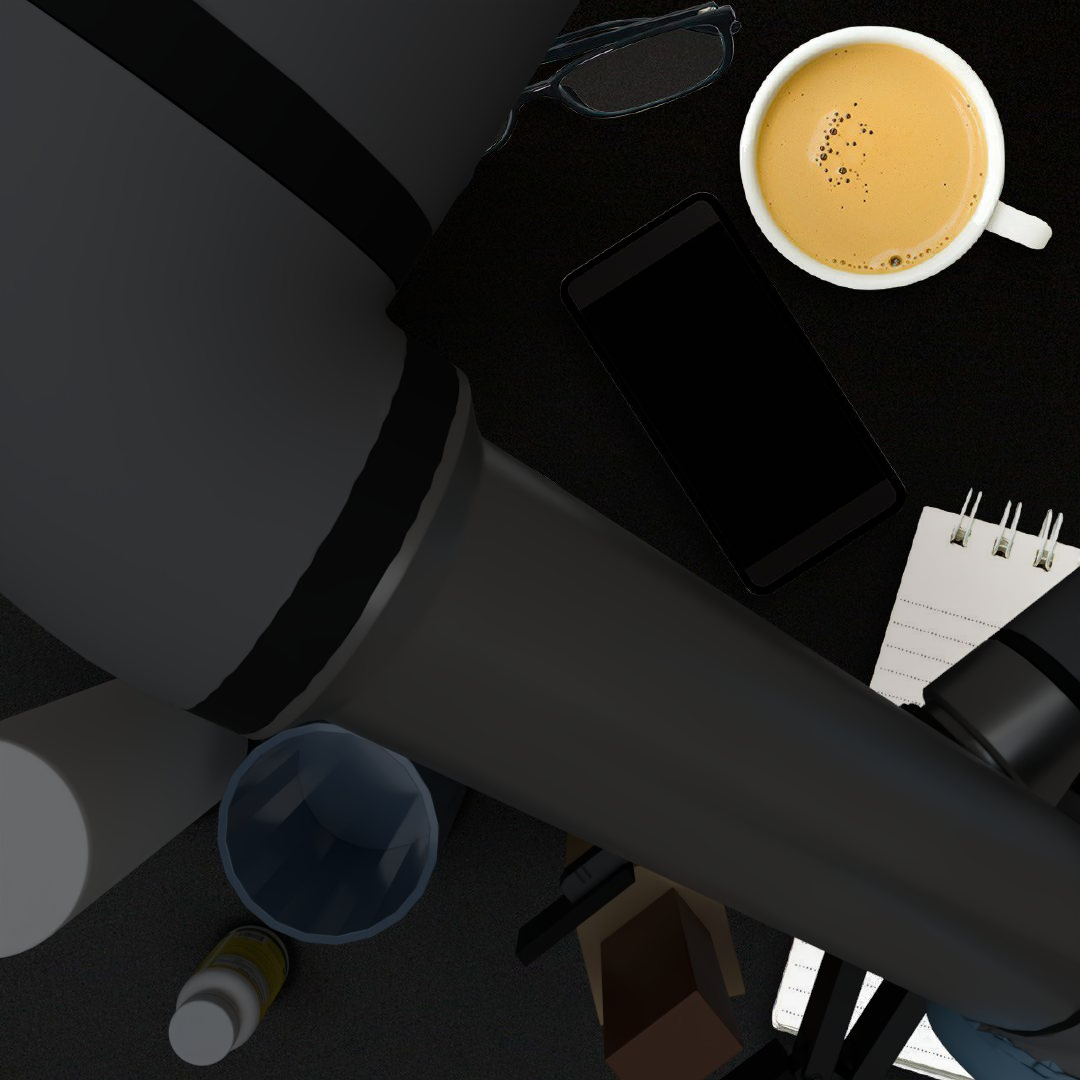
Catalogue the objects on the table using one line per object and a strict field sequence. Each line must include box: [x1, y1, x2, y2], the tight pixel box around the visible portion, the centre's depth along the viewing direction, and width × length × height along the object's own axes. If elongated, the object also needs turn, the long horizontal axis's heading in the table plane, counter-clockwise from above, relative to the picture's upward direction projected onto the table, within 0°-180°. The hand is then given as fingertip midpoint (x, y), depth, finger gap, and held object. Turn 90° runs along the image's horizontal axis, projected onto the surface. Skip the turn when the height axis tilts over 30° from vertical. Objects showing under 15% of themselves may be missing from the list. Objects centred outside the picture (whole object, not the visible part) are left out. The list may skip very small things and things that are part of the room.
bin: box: [216, 719, 468, 946], centre depth 69 cm, size 14×14×16 cm
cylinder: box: [0, 677, 249, 959], centre depth 66 cm, size 12×12×25 cm
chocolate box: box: [600, 888, 745, 1080], centre depth 46 cm, size 5×3×11 cm, turn 129°
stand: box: [565, 832, 747, 1026], centre depth 64 cm, size 8×8×25 cm
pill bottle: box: [168, 924, 290, 1067], centre depth 73 cm, size 6×6×11 cm
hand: (599, 1044), depth 46 cm, fingers open, 11 cm apart
